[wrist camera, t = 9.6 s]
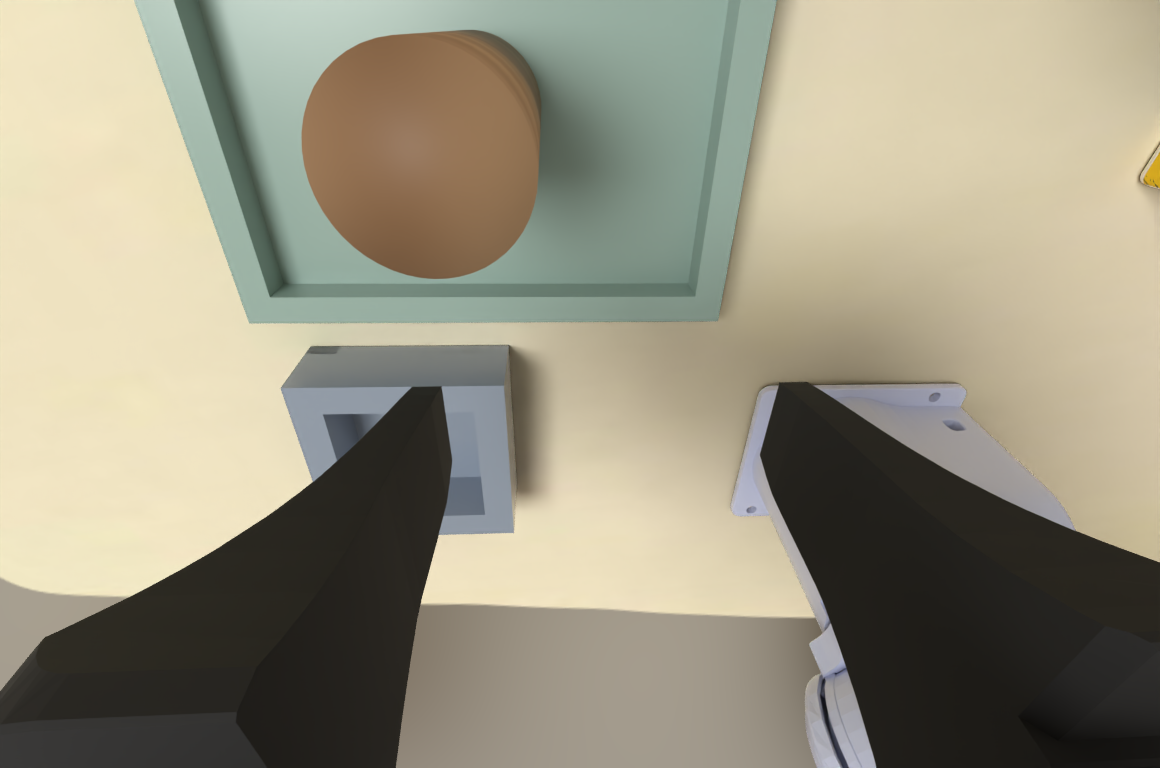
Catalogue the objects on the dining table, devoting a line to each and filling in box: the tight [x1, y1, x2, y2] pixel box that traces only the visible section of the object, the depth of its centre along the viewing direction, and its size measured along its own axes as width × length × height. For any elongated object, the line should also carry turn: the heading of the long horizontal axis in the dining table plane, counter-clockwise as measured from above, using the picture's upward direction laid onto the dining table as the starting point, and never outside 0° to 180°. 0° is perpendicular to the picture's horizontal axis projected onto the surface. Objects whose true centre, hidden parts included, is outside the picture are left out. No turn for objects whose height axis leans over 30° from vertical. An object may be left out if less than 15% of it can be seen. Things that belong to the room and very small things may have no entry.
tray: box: [134, 0, 777, 323], centre depth 17 cm, size 17×14×2 cm
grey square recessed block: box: [281, 345, 517, 535], centre depth 23 cm, size 8×8×3 cm
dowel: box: [301, 30, 541, 279], centre depth 13 cm, size 4×4×9 cm
